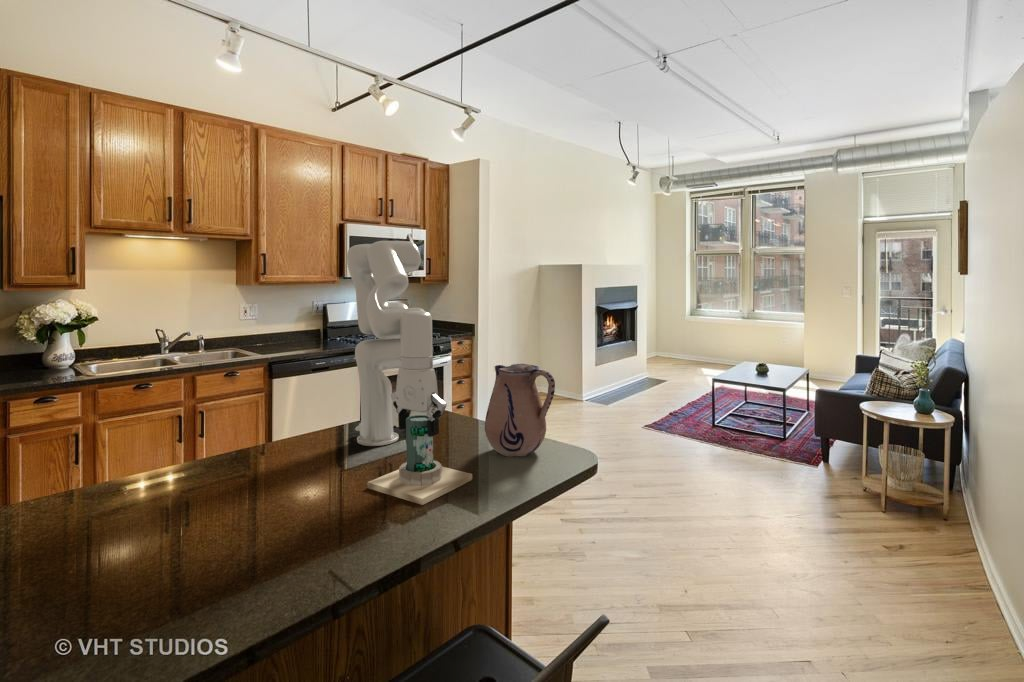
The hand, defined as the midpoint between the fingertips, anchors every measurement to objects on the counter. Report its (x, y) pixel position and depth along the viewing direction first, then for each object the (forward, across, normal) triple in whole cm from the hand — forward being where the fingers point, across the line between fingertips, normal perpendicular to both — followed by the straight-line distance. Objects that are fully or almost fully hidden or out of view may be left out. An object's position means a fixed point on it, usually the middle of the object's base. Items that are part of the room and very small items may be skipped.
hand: (418, 431), depth 135 cm
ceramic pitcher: (+14, +9, +32) cm, 36 cm away
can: (+12, +1, 0) cm, 12 cm away
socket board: (+13, +1, 0) cm, 13 cm away
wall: (+15, -42, +38) cm, 59 cm away
